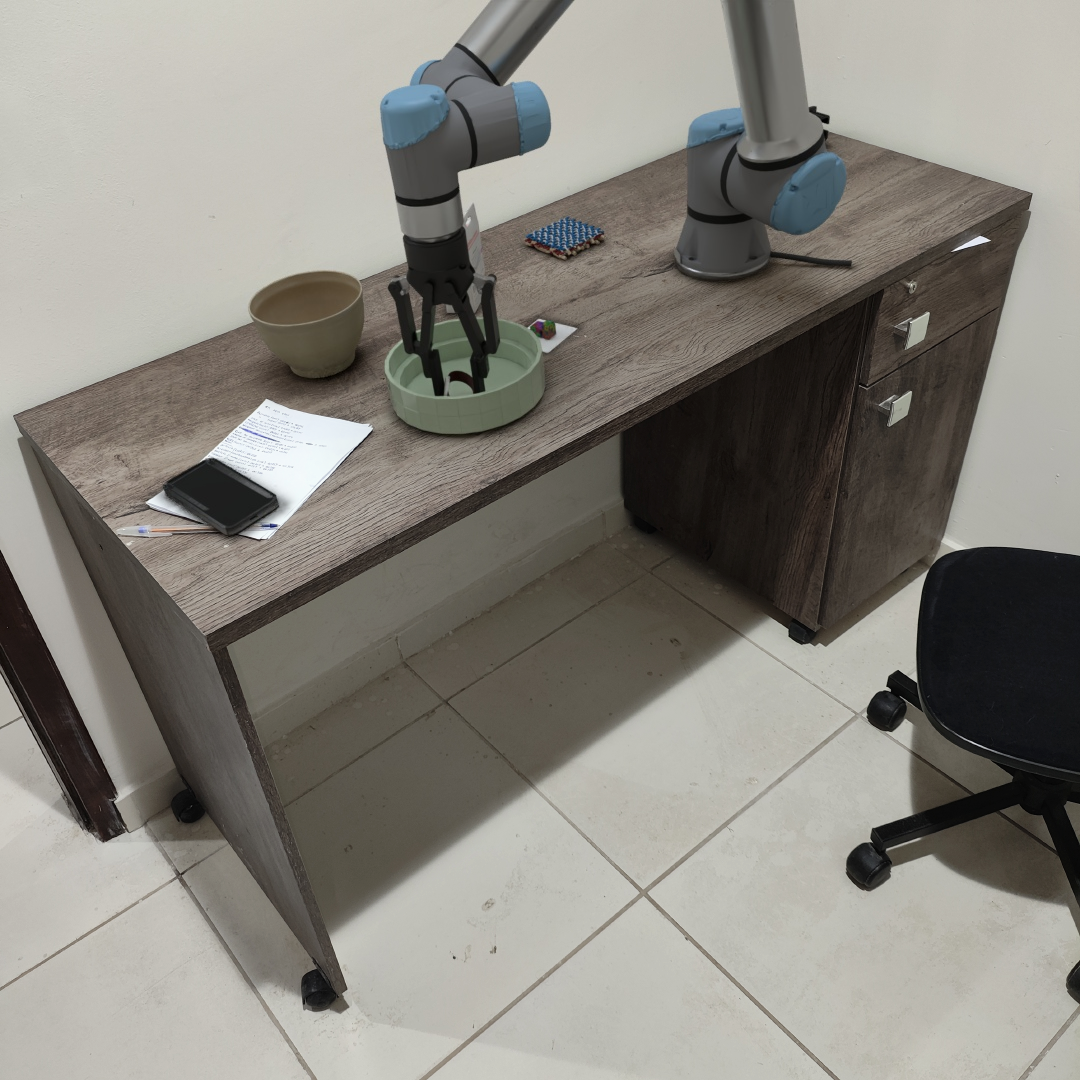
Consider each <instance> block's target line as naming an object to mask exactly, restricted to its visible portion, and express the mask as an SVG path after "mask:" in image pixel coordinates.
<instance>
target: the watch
mask: <svg viewBox="0 0 1080 1080" xmlns="http://www.w3.org/2000/svg"><path fill="white" fill-rule="evenodd" d="M453 381H460V382H463V383H465V384H467V385H468V386H469V387H470V388H471V389H472V391H473V394H475V392H474V385H473V379H472V377H471V376H470V375H469V374H467V373H465V372H463V371H457V370H456V371H452V372H450V373H449V375H448V377H446V378H445V384H444V394H443V396H450V395H449V384H450V383H451V382H453Z"/></svg>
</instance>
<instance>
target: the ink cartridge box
mask: <svg viewBox="0 0 1080 1080" xmlns="http://www.w3.org/2000/svg"><path fill="white" fill-rule="evenodd" d="M463 217H464V223H463V227H464V228H465V230H466V237H467V244H468V251H469V259H470V263H471V265H472V266H473V268H474V269H475V272H476V273H478V274H482V275H485V276H487V274H486V269H485V268H486V267H485V260H484V253H483V246H482V240H481V239H482V238H481V231H480V224H479V219H478V215H477V211H476V206H475V203H474V202H471V203H470V205H469V206H468V208H467V209H466V211H465V213H463ZM469 218H470V220H468V219H469ZM467 293H468V295H469V299H470V304H471V306H472V309H473V311H474V314H476V312H477V310H478V309H479V306H480V305H481V295H482V294H479V293H478V292H477V287H476V285H475V284H474V283H472V284H471V286H470V288H469V289H468V291H467ZM445 309H446V313H447V314H456V313H455V312H454V309H453V307H452V305H446V304H445Z"/></svg>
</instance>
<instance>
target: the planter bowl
mask: <svg viewBox="0 0 1080 1080" xmlns="http://www.w3.org/2000/svg"><path fill="white" fill-rule="evenodd" d="M247 312H248V314H249V316H250V318H251V320H252V322H254V325H255V329H256V330H257V333H258V334H259V337H260V338H261V340H262V341H263V344H264V345H265V346H266V347H267V348H268V350H270V352H272V354H273V355H274V356H276V358H278V359H279V360H280V361H282V362H283V363H284V364H286V365H288V366H289V367H290V370H291V371H292V372H293V373H294V374H295V375H296V376H299V377H302V378H306V379H323V378H327V377H331V376H334V375H336V374H340V373H341V372H343V371H344V370H346V369H347V368H349V367H350V366H351V365H352V364H353V362H354V361H355V358H356V357H355V356H356V352H355V351H356V349H357V347H358V345H359V343H360V340H361V339H362V338H361V337H362V333H363V329H364V324H365V304H364V290H363V286H362V282H361V281H360V280H359V279H358V277H355V276H354V275H352V274H349V273H347V272H344V271H338V270H329V269H328V270H326V269H323V270H322V269H320V270H310V271H309V270H307V271H304V272H297V273H294V274H291V275H287V276H284V277H281V278H278V279H276V280H274V281H272V282H270V283H269V284H267V285H265V286H264V287H262V288H260V289H259V290H258V291H256V293H254V294H253V295H252V297H251V298H250V300H249V302H248V305H247Z"/></svg>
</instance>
